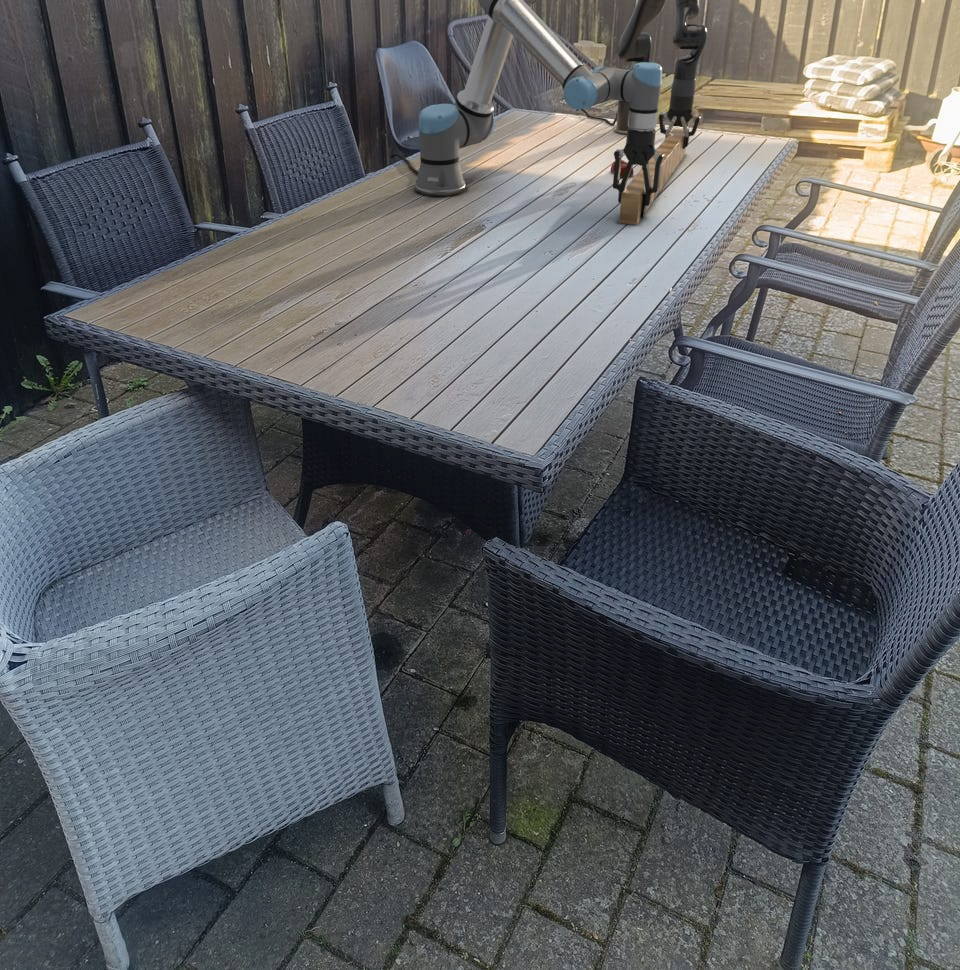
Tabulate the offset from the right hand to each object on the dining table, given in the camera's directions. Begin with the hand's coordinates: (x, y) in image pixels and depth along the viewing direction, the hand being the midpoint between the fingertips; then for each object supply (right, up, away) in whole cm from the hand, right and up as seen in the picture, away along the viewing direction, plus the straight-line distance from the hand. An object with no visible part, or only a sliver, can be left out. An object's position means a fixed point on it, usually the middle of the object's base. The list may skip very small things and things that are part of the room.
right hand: (675, 147), depth 285 cm
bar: (-12, -21, -23) cm, 33 cm away
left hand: (-23, -39, -48) cm, 66 cm away
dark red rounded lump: (-21, -14, -13) cm, 28 cm away
